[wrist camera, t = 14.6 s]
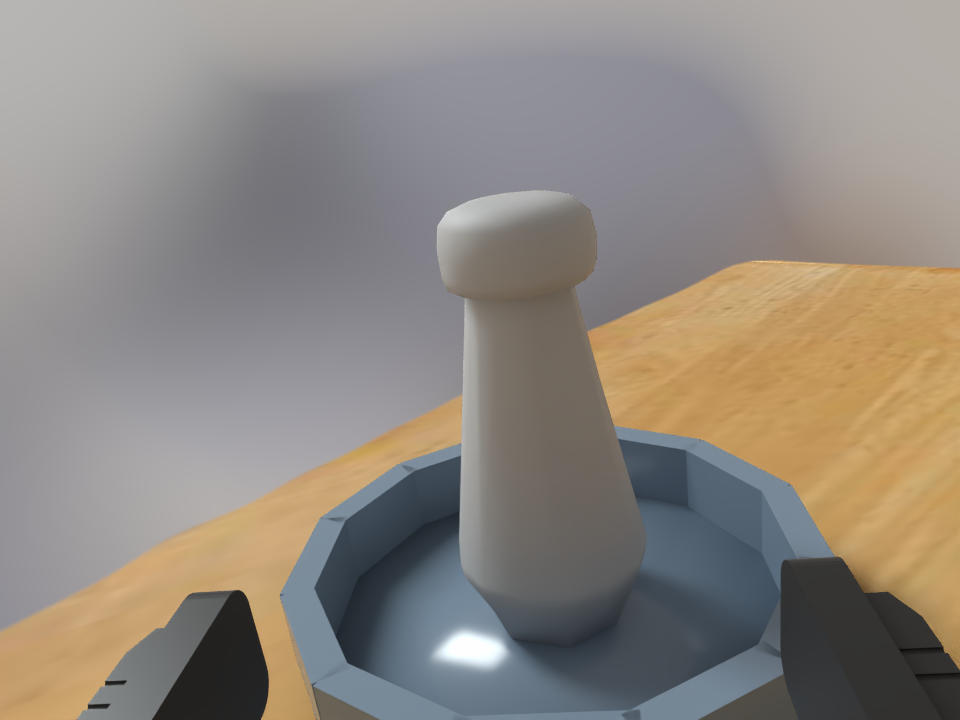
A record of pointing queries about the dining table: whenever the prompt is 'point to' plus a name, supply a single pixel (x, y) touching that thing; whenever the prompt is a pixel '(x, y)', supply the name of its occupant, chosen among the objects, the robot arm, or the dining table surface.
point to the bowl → (540, 667)
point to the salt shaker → (537, 423)
